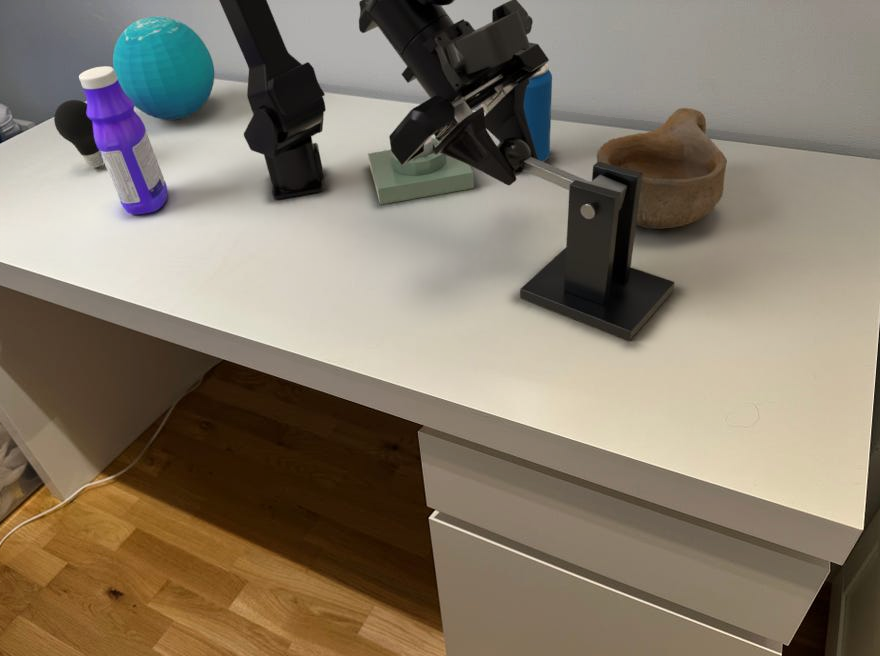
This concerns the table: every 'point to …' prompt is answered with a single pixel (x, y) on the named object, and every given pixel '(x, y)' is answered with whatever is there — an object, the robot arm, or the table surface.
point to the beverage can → (539, 111)
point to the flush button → (427, 148)
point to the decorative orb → (163, 67)
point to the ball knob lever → (548, 168)
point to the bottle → (123, 142)
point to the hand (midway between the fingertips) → (524, 174)
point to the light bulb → (78, 130)
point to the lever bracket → (600, 261)
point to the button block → (418, 176)
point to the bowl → (672, 169)
